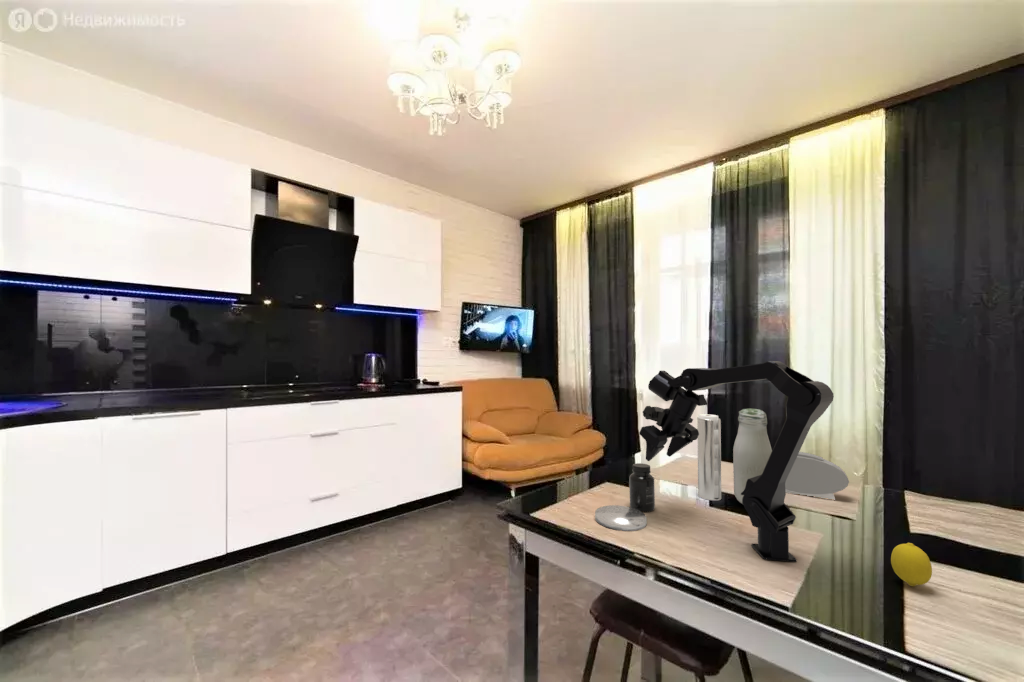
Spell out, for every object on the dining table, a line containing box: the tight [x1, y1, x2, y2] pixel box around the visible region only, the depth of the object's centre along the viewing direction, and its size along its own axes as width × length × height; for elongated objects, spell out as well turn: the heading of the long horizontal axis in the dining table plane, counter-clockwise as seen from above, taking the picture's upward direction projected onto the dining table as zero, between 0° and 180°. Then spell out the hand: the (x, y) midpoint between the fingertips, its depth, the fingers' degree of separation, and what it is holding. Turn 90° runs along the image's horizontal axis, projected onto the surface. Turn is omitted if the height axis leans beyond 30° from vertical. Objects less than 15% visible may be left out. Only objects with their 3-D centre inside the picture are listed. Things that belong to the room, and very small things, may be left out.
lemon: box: [890, 542, 933, 587], centre depth 77 cm, size 6×6×8 cm
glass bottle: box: [732, 408, 773, 504], centre depth 117 cm, size 10×10×28 cm
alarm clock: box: [785, 451, 850, 501], centre depth 129 cm, size 23×6×13 cm, turn 57°
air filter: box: [696, 413, 722, 501], centre depth 125 cm, size 6×6×25 cm
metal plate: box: [594, 504, 648, 532], centre depth 106 cm, size 13×13×2 cm
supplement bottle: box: [628, 462, 656, 513], centre depth 115 cm, size 7×7×12 cm
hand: (657, 457), depth 113 cm, fingers open, 9 cm apart
